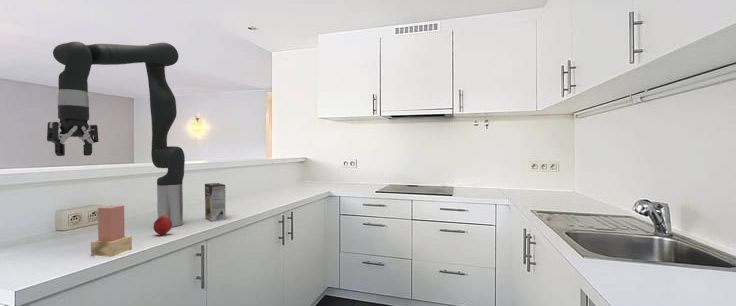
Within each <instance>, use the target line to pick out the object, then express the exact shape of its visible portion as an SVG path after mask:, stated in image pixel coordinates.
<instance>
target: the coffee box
mask: <svg viewBox="0 0 736 306" xmlns="http://www.w3.org/2000/svg"><path fill="white" fill-rule="evenodd" d="M204 209H205V210H204V211H205V213H204V214H205V219H206V220H208V221H210V222H217V221H223V220H226V184H223V183H220V182H217V183H216V182H213V183H204Z"/></svg>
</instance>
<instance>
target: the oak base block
mask: <svg viewBox="0 0 736 306" xmlns="http://www.w3.org/2000/svg"><path fill="white" fill-rule="evenodd" d="M132 242H133V241H132V236H131V235H130V236H128V235H127V236H126V235H125V237H124V238H121V239H118V240H114V241H98V239H97V240H92V241H90V255H91V256H94V255H97V256H107V257H113V256H117V255H116V254H118V255H120V254H119V253H122V252H125V251H127V250H130V251H131V250H132V248H133V246H132Z"/></svg>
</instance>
